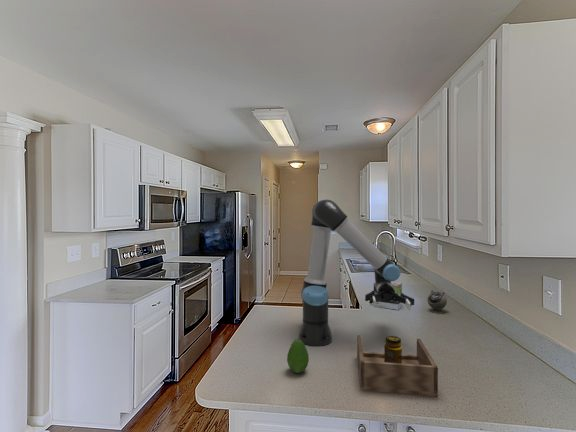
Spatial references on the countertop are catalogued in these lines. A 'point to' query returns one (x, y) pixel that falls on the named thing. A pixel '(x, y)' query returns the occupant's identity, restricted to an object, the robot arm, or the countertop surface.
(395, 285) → the tea box
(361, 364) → the tray
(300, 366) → the avocado
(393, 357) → the condiment
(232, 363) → the countertop surface
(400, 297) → the robot arm
